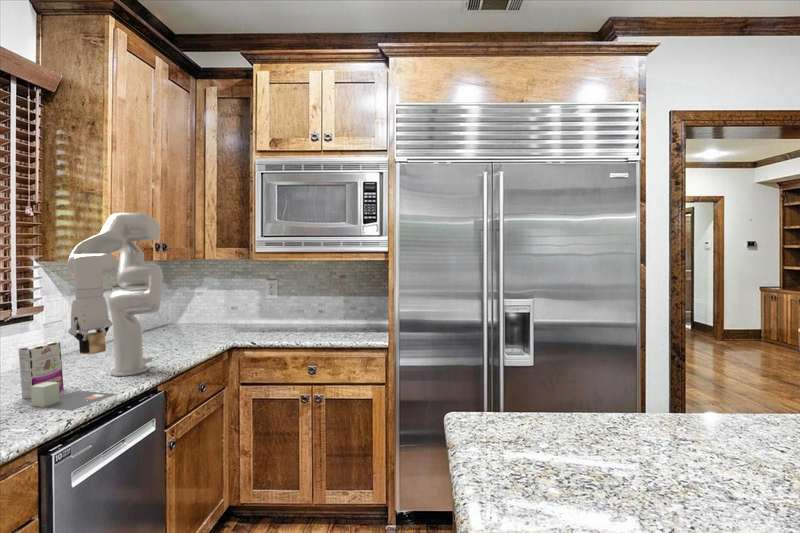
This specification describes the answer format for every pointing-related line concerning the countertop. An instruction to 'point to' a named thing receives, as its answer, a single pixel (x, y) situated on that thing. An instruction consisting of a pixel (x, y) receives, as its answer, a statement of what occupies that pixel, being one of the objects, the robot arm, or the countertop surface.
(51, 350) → the candy bar box
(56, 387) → the sage block
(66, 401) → the mat
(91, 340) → the oak block
